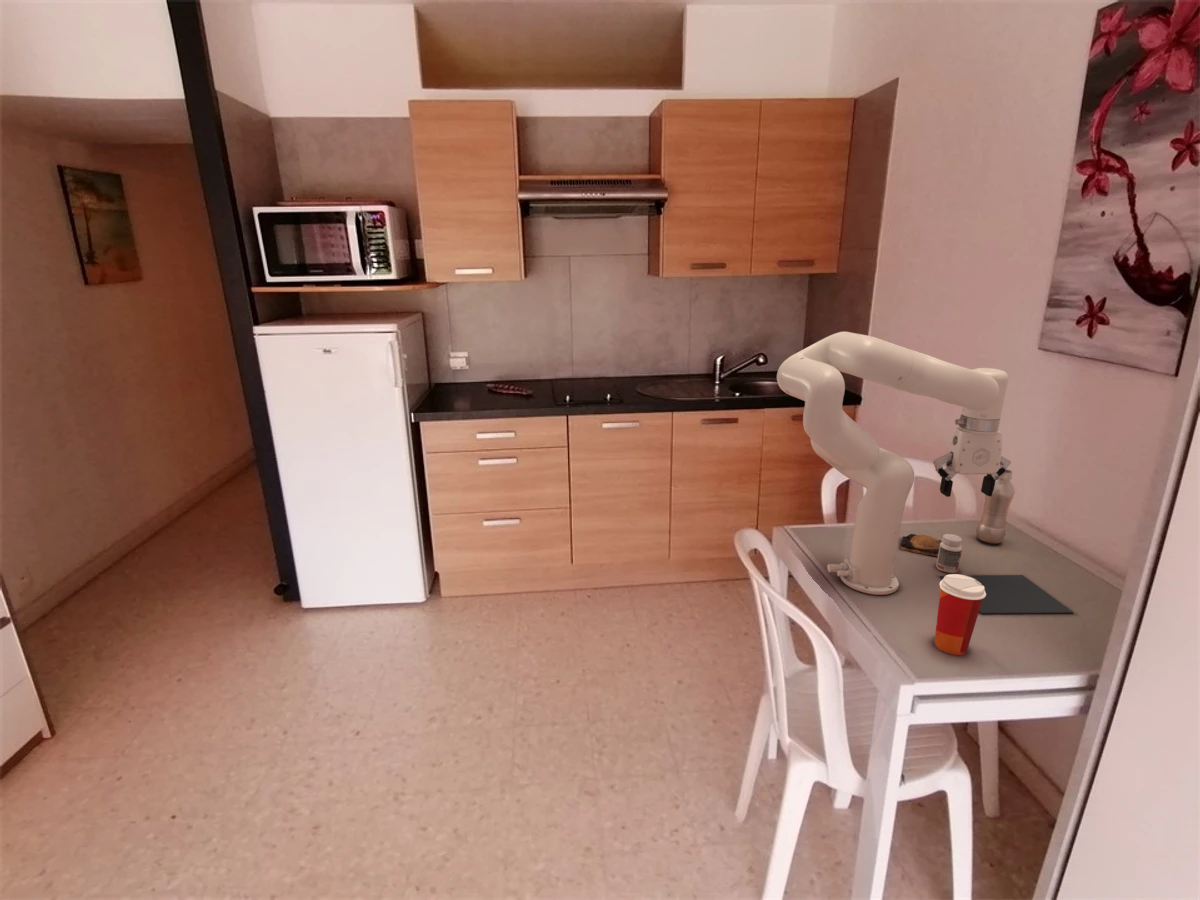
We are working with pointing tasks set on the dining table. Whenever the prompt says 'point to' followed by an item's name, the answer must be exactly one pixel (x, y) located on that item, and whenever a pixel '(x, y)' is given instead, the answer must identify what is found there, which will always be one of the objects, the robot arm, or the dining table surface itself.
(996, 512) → the plastic bottle
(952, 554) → the pill bottle
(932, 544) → the bread roll
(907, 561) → the dining table surface
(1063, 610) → the mat
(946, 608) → the paper cup
